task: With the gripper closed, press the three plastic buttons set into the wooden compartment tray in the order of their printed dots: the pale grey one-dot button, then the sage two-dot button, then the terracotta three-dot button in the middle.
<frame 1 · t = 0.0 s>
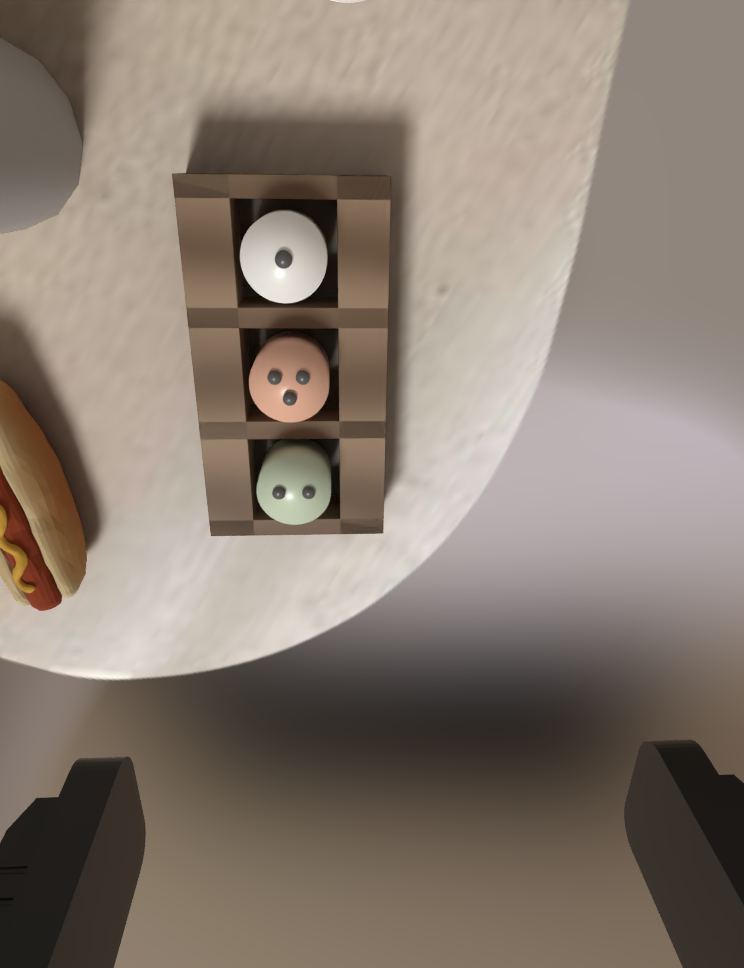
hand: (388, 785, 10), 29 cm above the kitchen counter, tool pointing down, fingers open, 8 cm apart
button two: (295, 481, 37), point 3 cm above the kitchen counter, slide at 0.0 cm
button three: (290, 376, 34), point 3 cm above the kitchen counter, slide at 0.0 cm
wooden compartment tray: (294, 361, 37), on the kitchen counter
button one: (285, 255, 32), point 3 cm above the kitchen counter, slide at 0.0 cm
food: (31, 474, 40), on the kitchen counter
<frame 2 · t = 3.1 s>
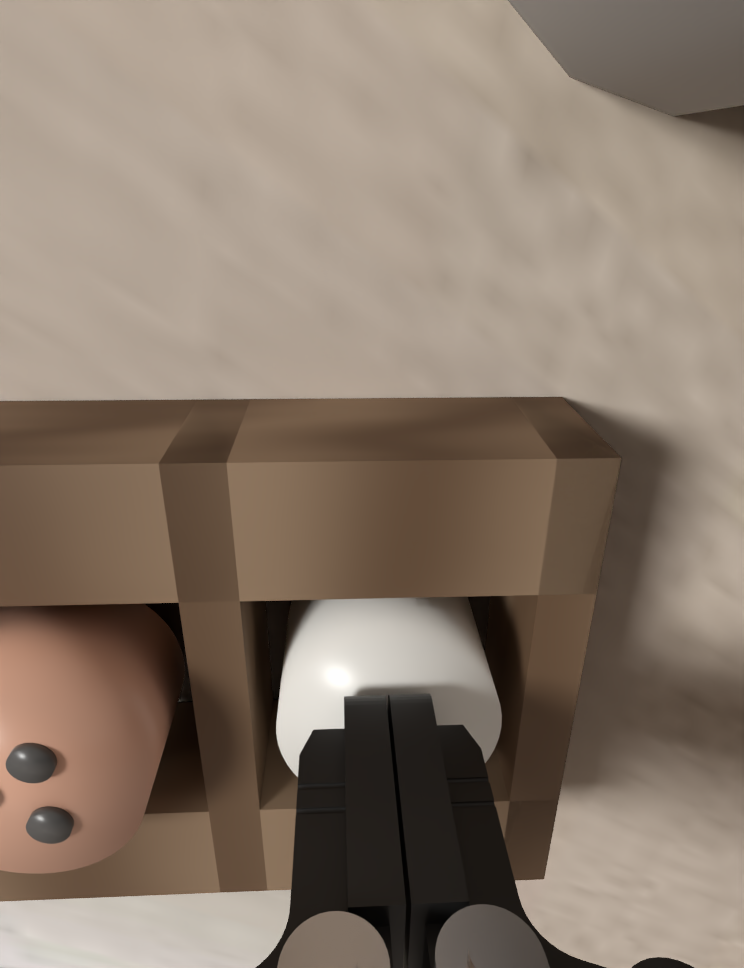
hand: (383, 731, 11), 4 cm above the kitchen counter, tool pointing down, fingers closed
button three: (52, 723, 12), point 3 cm above the kitchen counter, slide at 0.0 cm
wooden compartment tray: (106, 618, 15), on the kitchen counter
button one: (384, 674, 13), point 2 cm above the kitchen counter, slide at 1.1 cm, touching gripper
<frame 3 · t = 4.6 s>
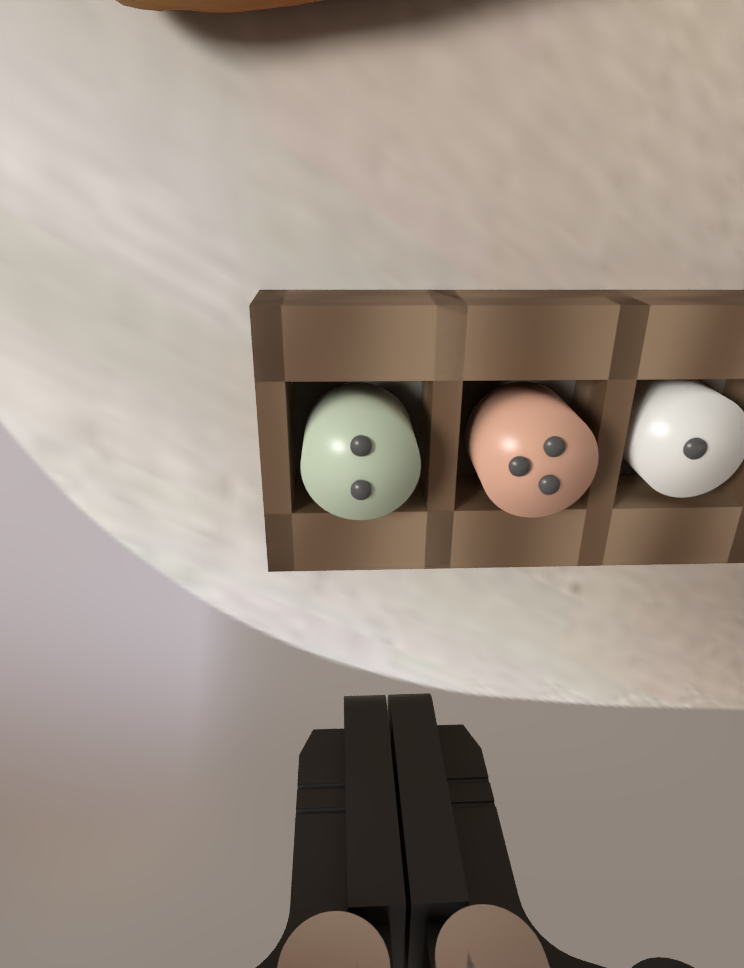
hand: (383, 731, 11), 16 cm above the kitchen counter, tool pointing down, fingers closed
button two: (359, 450, 23), point 3 cm above the kitchen counter, slide at 0.0 cm
button three: (528, 448, 23), point 3 cm above the kitchen counter, slide at 0.0 cm
wooden compartment tray: (508, 419, 26), on the kitchen counter
button one: (675, 433, 25), point 2 cm above the kitchen counter, slide at 1.4 cm
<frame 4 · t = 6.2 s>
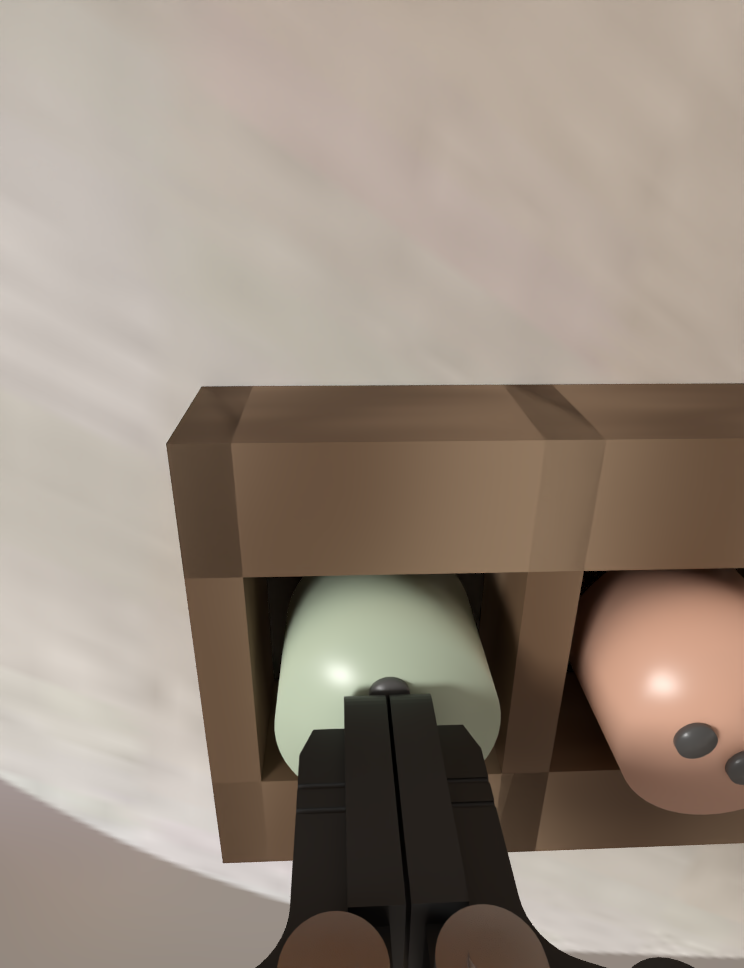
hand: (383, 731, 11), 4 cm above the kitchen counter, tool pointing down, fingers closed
button two: (383, 671, 13), point 3 cm above the kitchen counter, slide at 0.4 cm, touching gripper
button three: (692, 679, 13), point 3 cm above the kitchen counter, slide at 0.0 cm
wooden compartment tray: (629, 588, 16), on the kitchen counter
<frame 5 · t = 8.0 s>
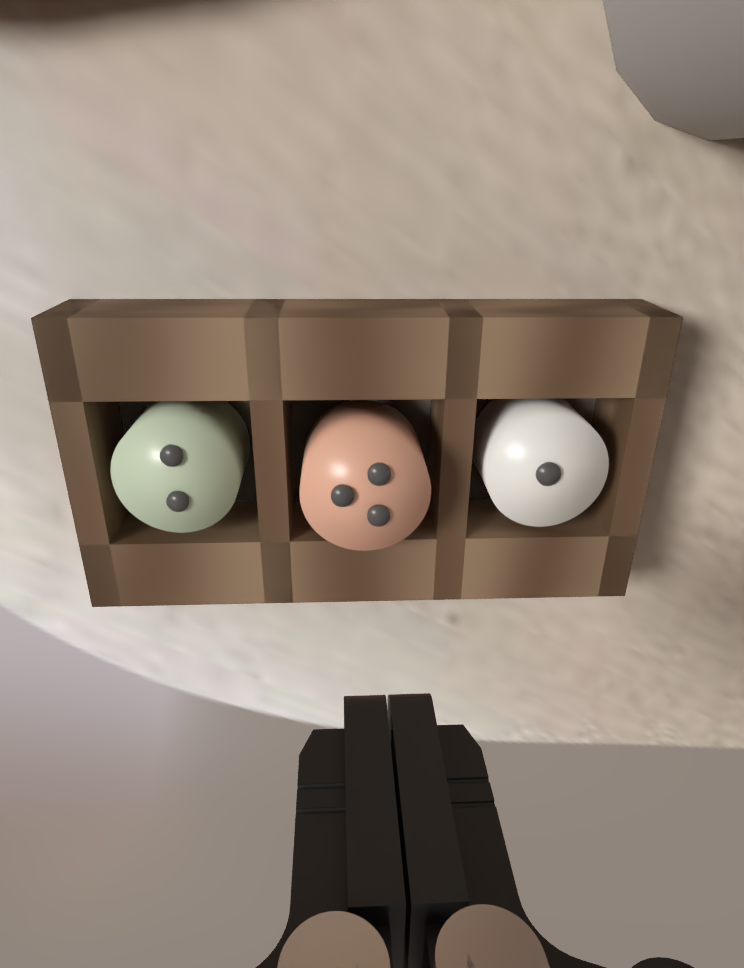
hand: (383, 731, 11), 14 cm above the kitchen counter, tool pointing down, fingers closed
button two: (184, 460, 22), point 2 cm above the kitchen counter, slide at 1.4 cm
button three: (363, 474, 21), point 3 cm above the kitchen counter, slide at 0.0 cm
wooden compartment tray: (360, 439, 24), on the kitchen counter
button one: (535, 455, 23), point 2 cm above the kitchen counter, slide at 1.4 cm
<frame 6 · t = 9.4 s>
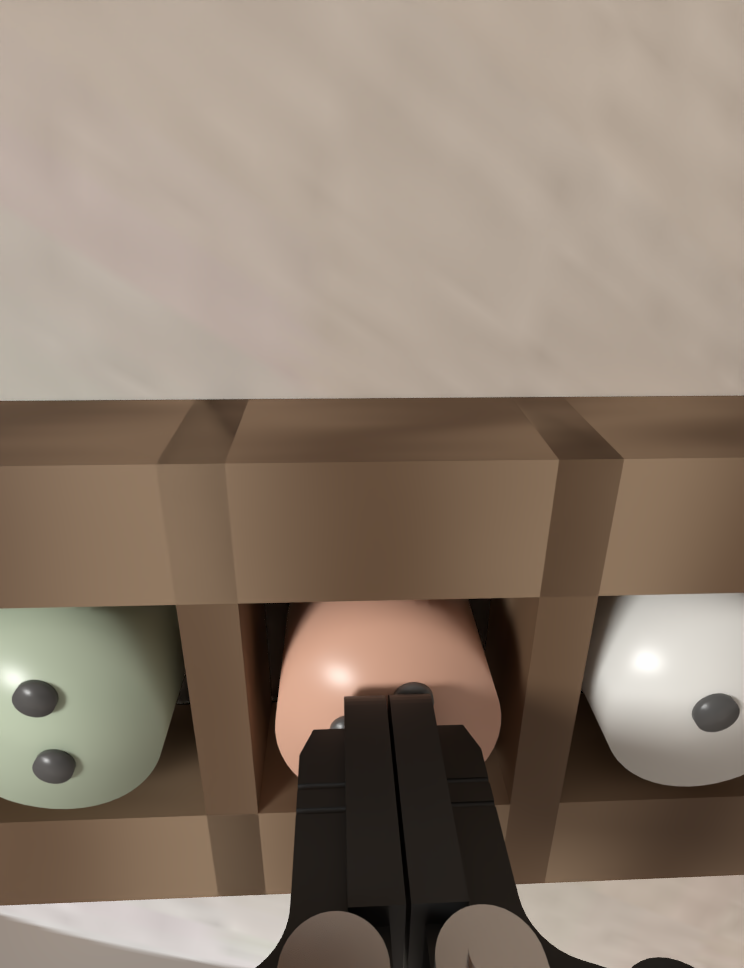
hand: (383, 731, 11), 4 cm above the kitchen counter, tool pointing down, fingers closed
button two: (75, 674, 13), point 2 cm above the kitchen counter, slide at 1.4 cm
button three: (383, 673, 13), point 2 cm above the kitchen counter, slide at 1.2 cm, touching gripper
wooden compartment tray: (378, 613, 15), on the kitchen counter
button one: (677, 658, 13), point 2 cm above the kitchen counter, slide at 1.4 cm
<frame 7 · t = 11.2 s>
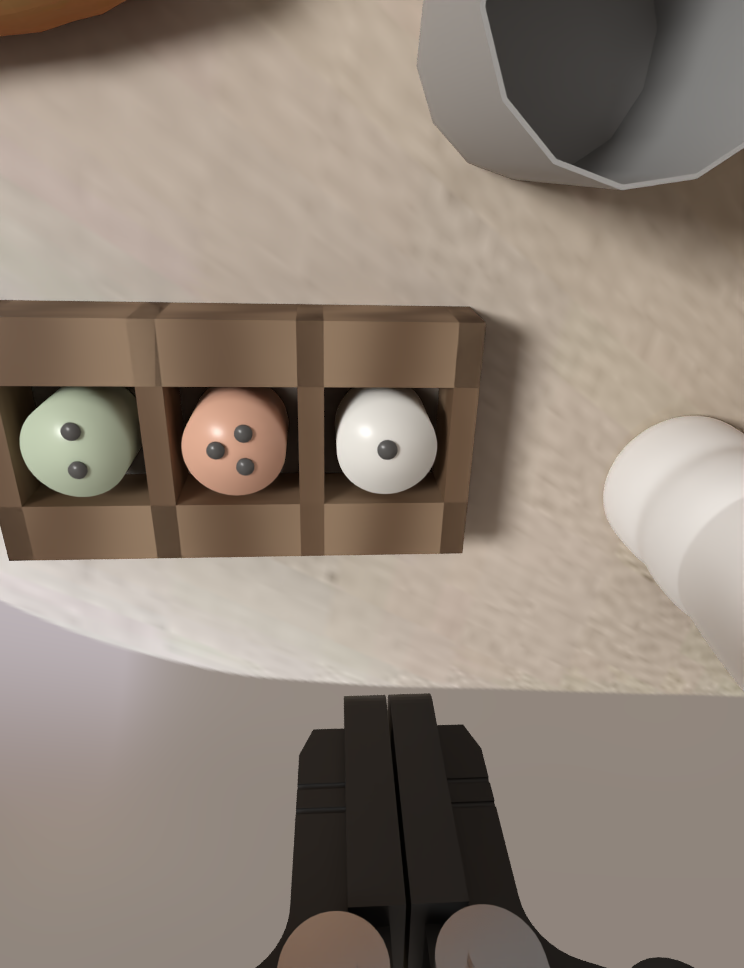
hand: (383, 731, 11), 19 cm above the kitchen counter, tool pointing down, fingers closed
button two: (86, 436, 27), point 2 cm above the kitchen counter, slide at 1.4 cm
button three: (237, 436, 27), point 2 cm above the kitchen counter, slide at 1.4 cm
wooden compartment tray: (242, 421, 29), on the kitchen counter
water bottle: (668, 478, 32), on the kitchen counter
button one: (383, 435, 28), point 2 cm above the kitchen counter, slide at 1.4 cm
cup: (532, 49, 24), on the kitchen counter
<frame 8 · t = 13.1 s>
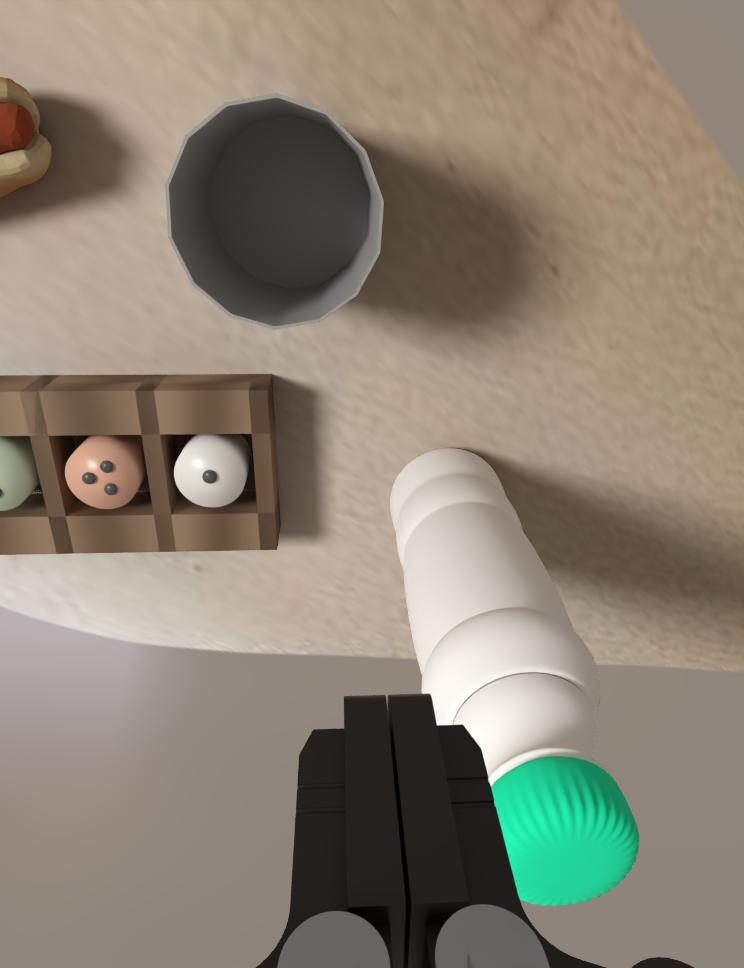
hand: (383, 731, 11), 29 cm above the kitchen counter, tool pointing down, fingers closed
button two: (3, 468, 38), point 2 cm above the kitchen counter, slide at 1.4 cm
button three: (109, 467, 38), point 2 cm above the kitchen counter, slide at 1.4 cm
wooden compartment tray: (118, 455, 40), on the kitchen counter
water bottle: (443, 493, 42), on the kitchen counter
button one: (214, 465, 39), point 2 cm above the kitchen counter, slide at 1.4 cm
cup: (291, 205, 35), on the kitchen counter
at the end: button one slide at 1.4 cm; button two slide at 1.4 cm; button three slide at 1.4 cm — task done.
